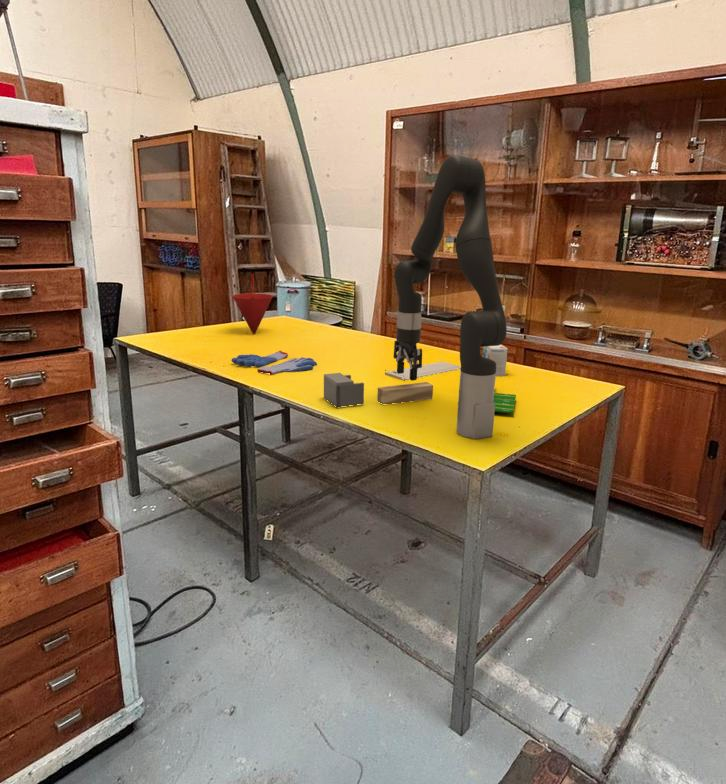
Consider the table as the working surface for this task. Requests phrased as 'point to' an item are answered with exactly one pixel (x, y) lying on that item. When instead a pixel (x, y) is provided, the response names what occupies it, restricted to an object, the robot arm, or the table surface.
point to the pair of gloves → (287, 366)
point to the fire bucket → (252, 307)
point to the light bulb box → (497, 357)
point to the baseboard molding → (424, 370)
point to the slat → (405, 393)
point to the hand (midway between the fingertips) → (406, 376)
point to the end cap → (342, 390)
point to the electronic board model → (504, 402)
